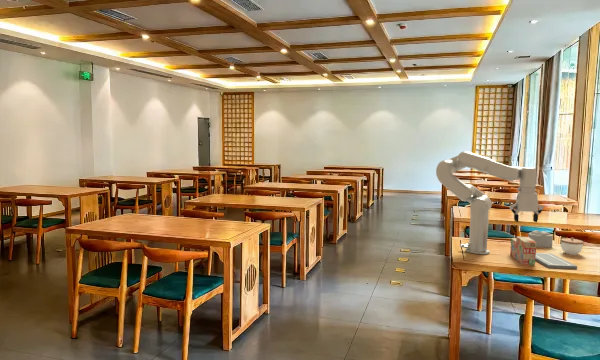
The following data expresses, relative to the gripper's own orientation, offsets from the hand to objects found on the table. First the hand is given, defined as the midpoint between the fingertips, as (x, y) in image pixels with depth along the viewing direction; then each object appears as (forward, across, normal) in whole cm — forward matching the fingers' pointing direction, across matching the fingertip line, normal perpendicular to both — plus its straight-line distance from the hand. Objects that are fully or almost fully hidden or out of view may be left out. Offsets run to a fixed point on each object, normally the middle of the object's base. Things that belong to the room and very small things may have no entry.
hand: (525, 221), depth 224 cm
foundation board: (+21, +12, -4) cm, 24 cm away
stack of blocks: (+21, -2, -1) cm, 21 cm away
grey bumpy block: (+21, +23, +34) cm, 46 cm away
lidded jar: (+21, +33, +16) cm, 42 cm away
